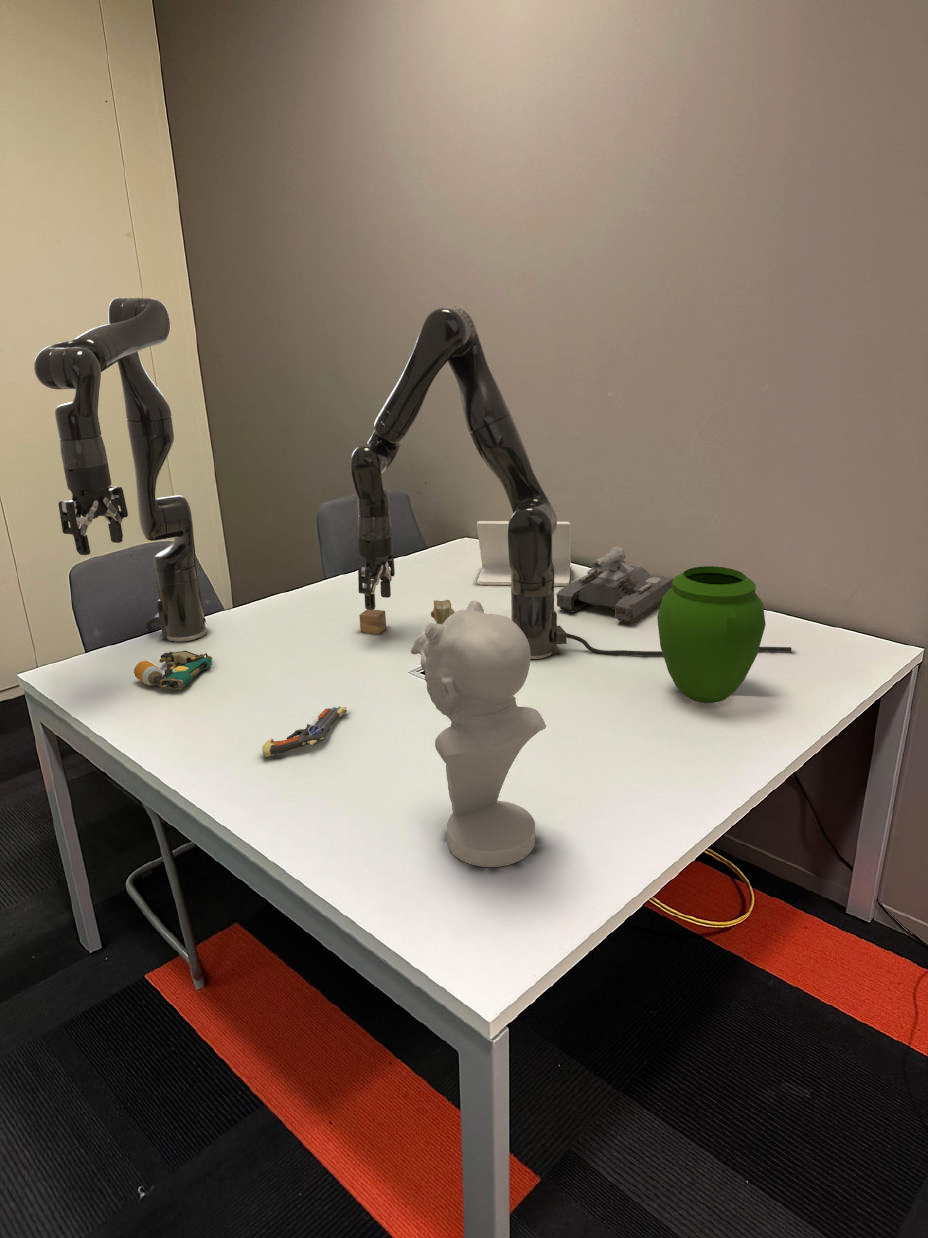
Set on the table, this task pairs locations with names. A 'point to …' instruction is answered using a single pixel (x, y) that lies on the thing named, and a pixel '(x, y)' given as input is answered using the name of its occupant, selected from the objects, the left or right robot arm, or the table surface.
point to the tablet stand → (497, 559)
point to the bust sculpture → (481, 729)
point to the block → (372, 621)
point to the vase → (710, 631)
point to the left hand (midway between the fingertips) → (101, 548)
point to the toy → (615, 588)
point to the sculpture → (441, 611)
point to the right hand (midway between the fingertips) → (378, 603)
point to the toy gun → (305, 733)
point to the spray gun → (172, 669)
